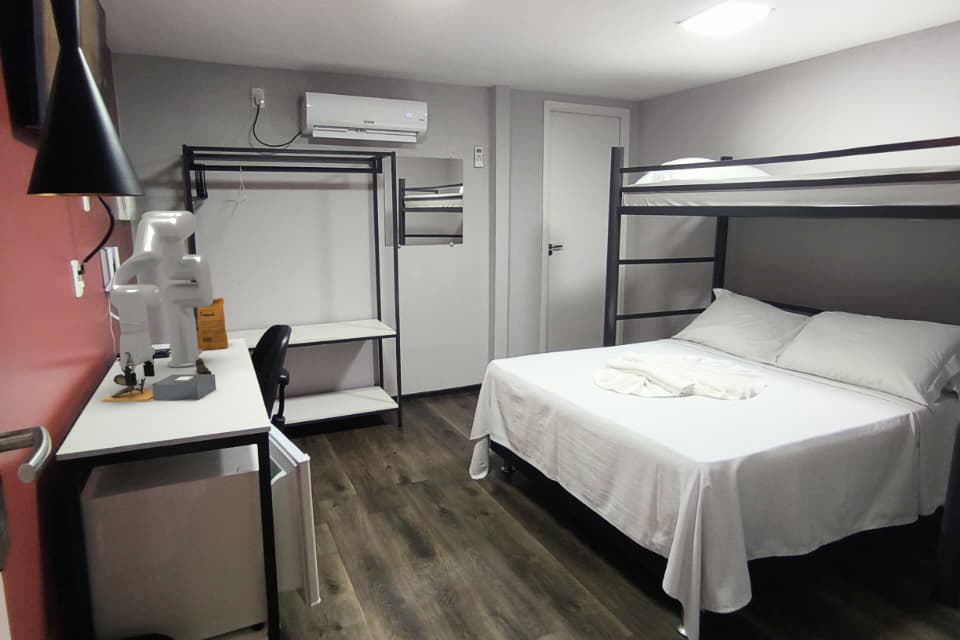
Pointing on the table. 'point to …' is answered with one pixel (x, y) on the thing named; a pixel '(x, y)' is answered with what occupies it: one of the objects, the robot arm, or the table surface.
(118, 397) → the pad
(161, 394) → the breaker box
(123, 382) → the eagle figurine
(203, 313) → the coffee package
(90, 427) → the table surface
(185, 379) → the button
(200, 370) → the hand tool
